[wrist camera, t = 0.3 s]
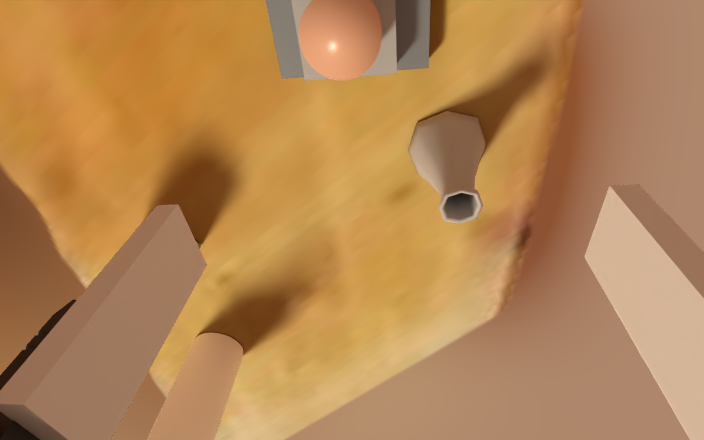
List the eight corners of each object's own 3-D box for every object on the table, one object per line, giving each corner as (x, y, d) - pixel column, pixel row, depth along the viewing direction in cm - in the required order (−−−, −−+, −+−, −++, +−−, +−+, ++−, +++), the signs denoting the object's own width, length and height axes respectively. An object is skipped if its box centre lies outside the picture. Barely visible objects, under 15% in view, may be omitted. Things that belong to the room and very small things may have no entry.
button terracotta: (304, -15, 26) (291, -6, 22) (380, -23, 25) (379, -15, 22) (316, 64, 29) (306, 83, 26) (384, 59, 28) (383, 77, 25)
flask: (488, 105, 34) (517, 161, 26) (482, 175, 38) (506, 241, 30) (405, 113, 35) (409, 169, 27) (409, 180, 39) (413, 245, 31)
